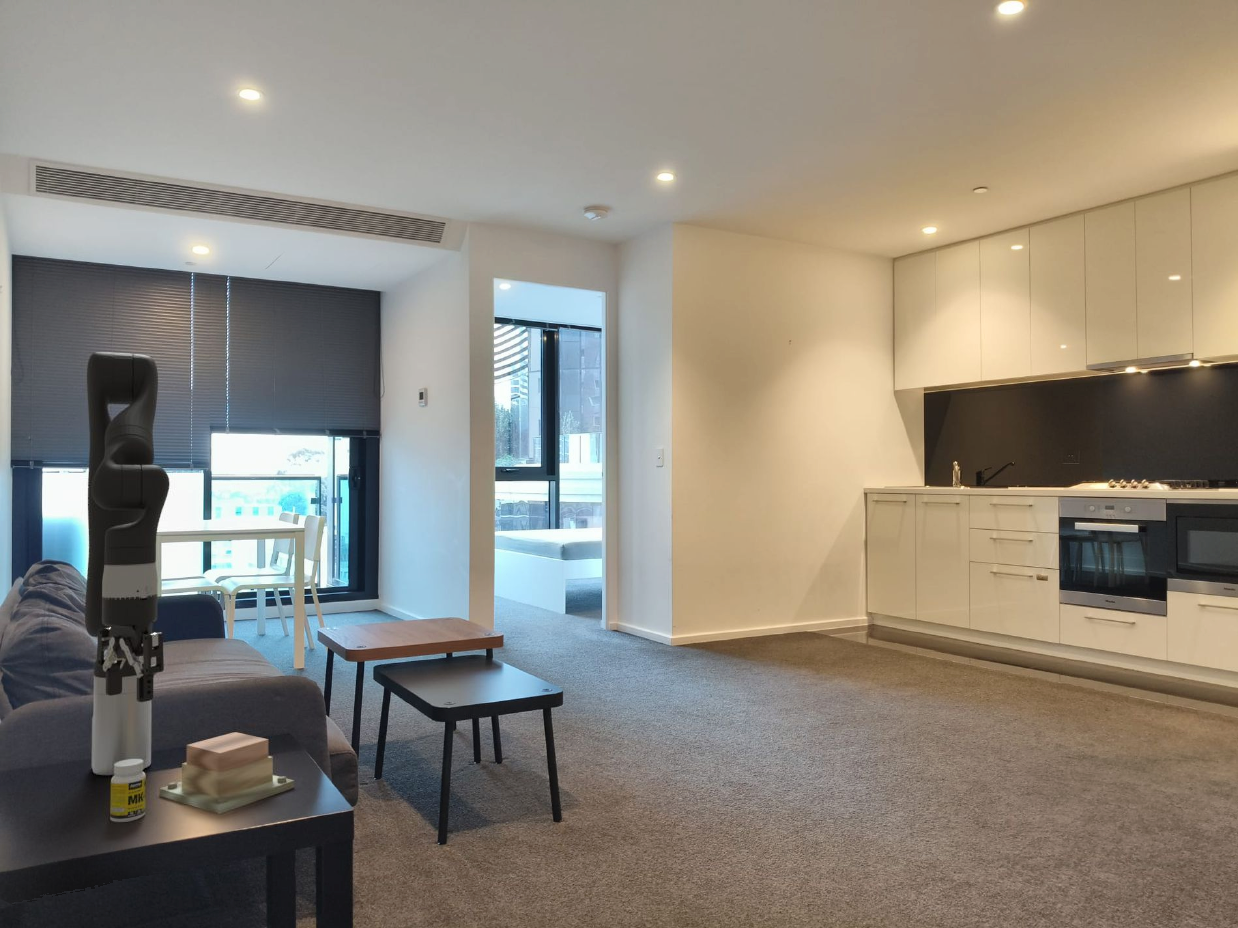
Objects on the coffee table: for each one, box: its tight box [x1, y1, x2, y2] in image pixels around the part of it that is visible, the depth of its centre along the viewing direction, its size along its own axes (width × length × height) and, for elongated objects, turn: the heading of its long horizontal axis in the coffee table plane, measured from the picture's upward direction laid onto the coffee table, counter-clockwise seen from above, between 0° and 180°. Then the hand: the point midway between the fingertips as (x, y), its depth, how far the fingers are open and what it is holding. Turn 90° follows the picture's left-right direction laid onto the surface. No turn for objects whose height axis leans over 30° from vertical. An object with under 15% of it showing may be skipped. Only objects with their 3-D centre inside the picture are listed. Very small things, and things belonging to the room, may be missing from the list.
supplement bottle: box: [109, 759, 147, 823], centre depth 136 cm, size 5×5×8 cm
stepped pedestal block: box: [158, 731, 295, 815], centre depth 147 cm, size 16×14×8 cm
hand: (129, 697), depth 136 cm, fingers open, 8 cm apart
